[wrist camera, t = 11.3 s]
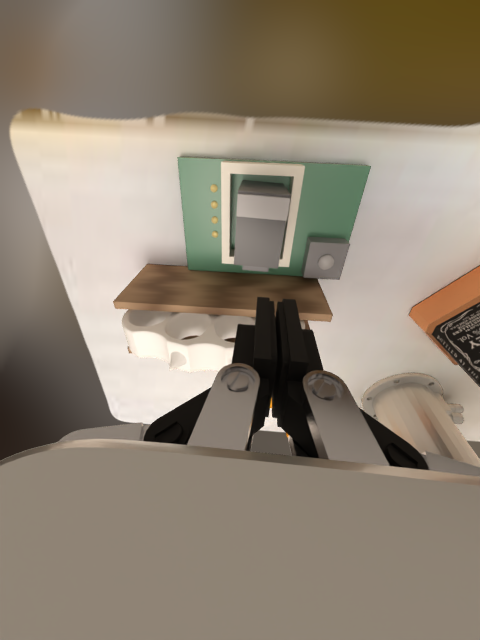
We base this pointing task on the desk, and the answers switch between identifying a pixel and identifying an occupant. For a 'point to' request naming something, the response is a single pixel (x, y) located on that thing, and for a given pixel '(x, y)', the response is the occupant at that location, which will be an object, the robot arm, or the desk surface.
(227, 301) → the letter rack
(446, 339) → the whiskey bottle
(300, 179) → the board
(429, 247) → the desk surface
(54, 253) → the desk surface
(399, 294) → the desk surface
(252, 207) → the plug
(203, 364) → the white curved piece
